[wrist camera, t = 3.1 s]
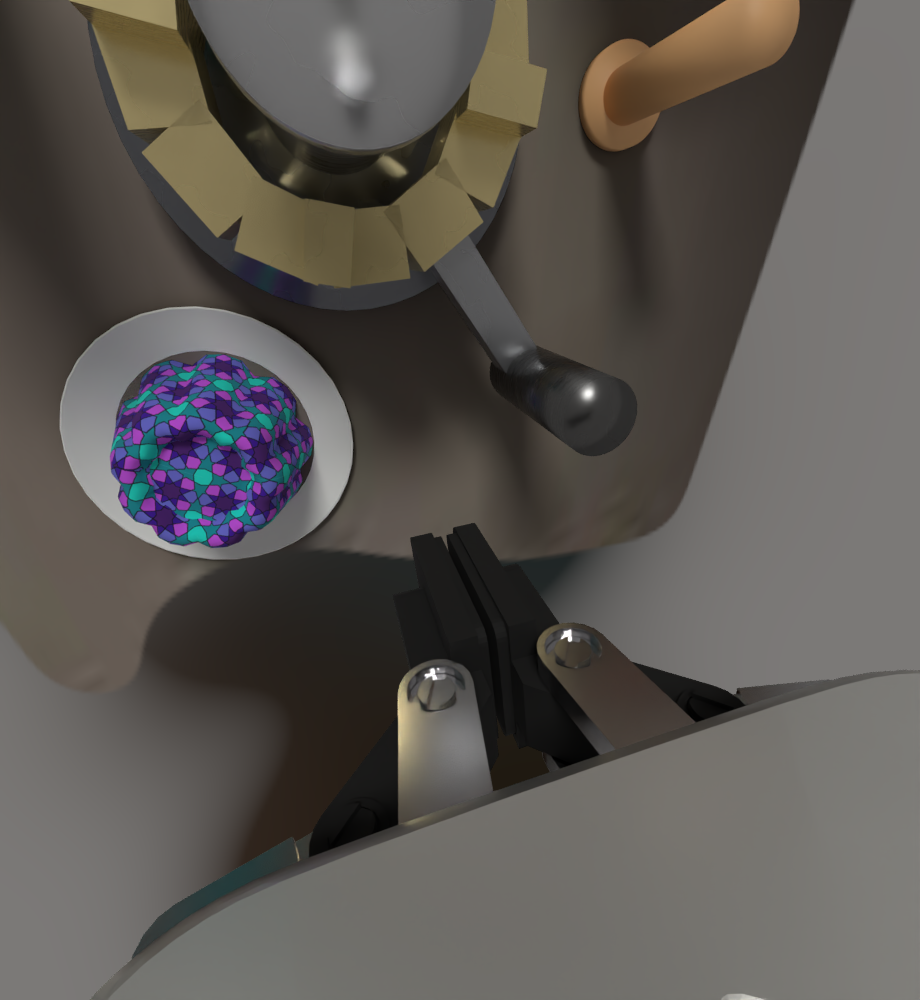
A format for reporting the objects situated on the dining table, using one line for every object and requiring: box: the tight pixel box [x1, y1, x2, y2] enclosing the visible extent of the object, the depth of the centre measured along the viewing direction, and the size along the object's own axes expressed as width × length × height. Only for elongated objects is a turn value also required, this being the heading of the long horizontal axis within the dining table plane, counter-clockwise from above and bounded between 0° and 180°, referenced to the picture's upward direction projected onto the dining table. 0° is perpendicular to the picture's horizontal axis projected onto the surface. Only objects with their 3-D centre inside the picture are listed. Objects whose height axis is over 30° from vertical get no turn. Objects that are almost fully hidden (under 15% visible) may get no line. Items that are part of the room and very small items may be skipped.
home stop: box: [579, 0, 800, 152], centre depth 17 cm, size 4×4×8 cm
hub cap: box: [88, 0, 519, 311], centre depth 14 cm, size 14×14×11 cm
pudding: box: [60, 306, 353, 560], centre depth 21 cm, size 12×12×5 cm
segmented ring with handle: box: [69, 0, 637, 456], centre depth 15 cm, size 19×12×8 cm, turn 36°
